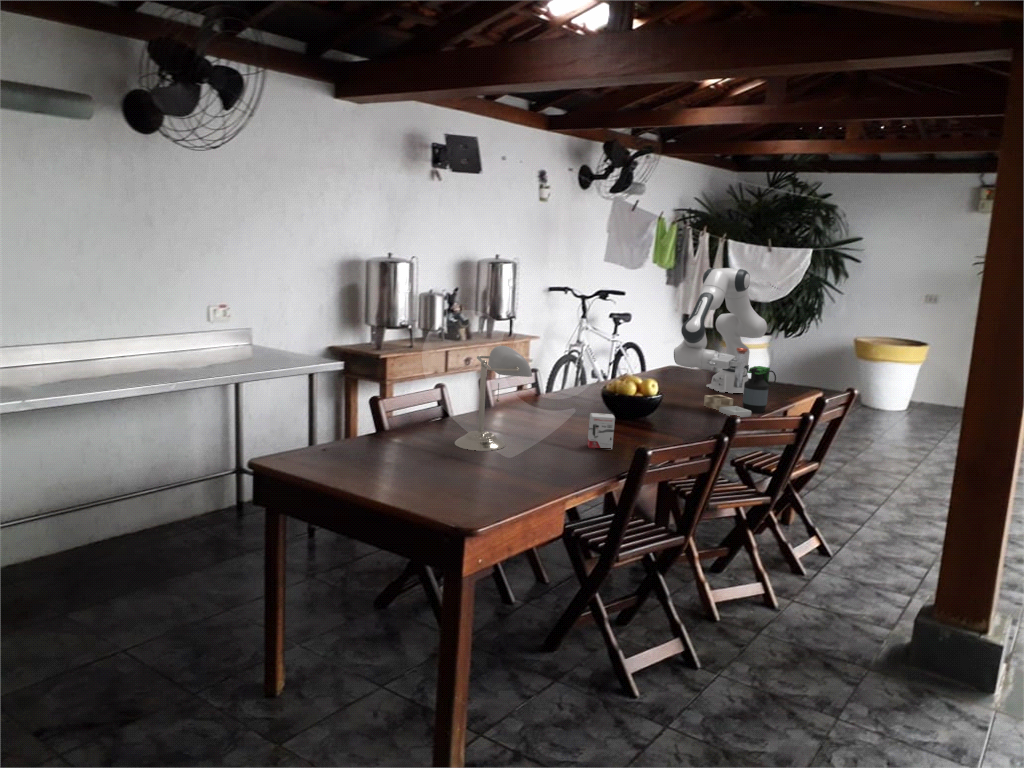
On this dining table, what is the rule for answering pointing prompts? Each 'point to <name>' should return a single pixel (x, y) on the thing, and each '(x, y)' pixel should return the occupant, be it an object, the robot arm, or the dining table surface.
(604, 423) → the ink box
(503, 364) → the lamp
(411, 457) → the dining table surface
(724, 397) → the block
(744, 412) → the tray
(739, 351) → the pin
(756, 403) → the grenade
